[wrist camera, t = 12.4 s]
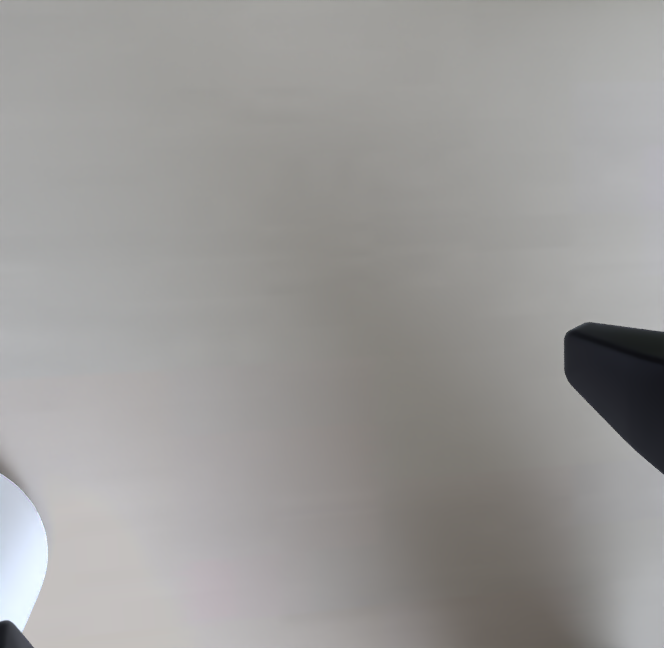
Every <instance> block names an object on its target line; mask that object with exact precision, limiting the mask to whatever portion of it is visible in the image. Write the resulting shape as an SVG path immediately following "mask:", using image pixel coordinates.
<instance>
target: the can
mask: <svg viewBox="0 0 664 648" xmlns="http://www.w3.org/2000/svg"><path fill="white" fill-rule="evenodd" d="M47 560H48V546H47V538H46V533H45V529H44V526H43V523H42V520H41V518H40V516H39V514H38V512H37V510H36V508H35V507H34V505H33V503H32V502H31V501H30V499H29V498H28V497H27V495H26V494H25V493H24V492H23V491H22V490H21V489H20V488H19V487H18V486H17V485H16V484H15V483H13V482H12V481H11V480H10V479H8V478H7V477H5V476H4V475H2V474H1V473H0V622H1V621H3V620H9V621H11V622H12V623H14V624H15V625H16V627H17V628H18V629H19V630H20V631H21V633H22V631H23V629H24V627H25V625H26V622H27V620H28V618H29V616H30V613H31V611H32V609H33V606H34V604H35V602H36V599H37V597H38V594H39V592H40V589H41V587H42V584H43V581H44V577H45V573H46V568H47Z"/></svg>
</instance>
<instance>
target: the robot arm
mask: <svg viewBox="0 0 664 648" xmlns="http://www.w3.org/2000/svg"><path fill="white" fill-rule="evenodd" d="M564 370H565V375H566V377H567V380H568V381H569V383H570V384H571V385H572V386H573V387H574V389H575V390H576V391H577V392H578V393H579V394H580V395H581V396H582V397H583V398H584V399H585V400H586V401H587V402H588V403H589V404H590V405H591V406H592V407H593V408H594V409H595V410H596V411H597V412H598V413H599V414H600V415H601V416H602V417H603V418H604V419H605V420H606V421H607V422H608V423H609V424H610V425H611V427H612V428H613V429H614V430H615V431H616V432H617V433H618V434H619V435H620V436H621V437H622V438H623V439H624V440H625V441H626V442H627V443H628V444H629V445H630V446H631V447H632V448H634V449H635V450H636V451H637V452H638V453H639V454H640V455H641V456H643V457H644V458H645V459H646V460H647V461H648V462H650V463H651V464H652V465H653V466H654V467H655V468H657V469H658V470H659V471H660V472H661V473H663V474H664V332H660V331H652V330H645V329H637V328H630V327H622V326H615V325H607V324H600V323H592V322H587V323H584V324H581V325H579V326H577V327H576V328H574V329H572V330H570V331H568V332H567V333H566V335H565V338H564ZM0 648H34V647H33V646H32V645H31V644H30V642H29V641H28V640H27V639H26V638H25V636H24V635H23V634H22V633H21V631H20V630H19V629H18V628H17V627H16V625H15V624H14V623H12V622H11V621H9V620H3V621H1V622H0Z"/></svg>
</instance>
